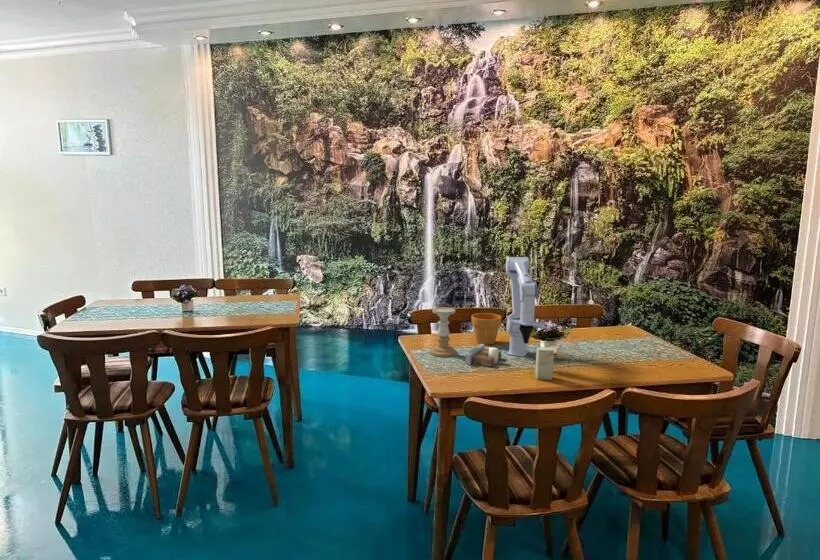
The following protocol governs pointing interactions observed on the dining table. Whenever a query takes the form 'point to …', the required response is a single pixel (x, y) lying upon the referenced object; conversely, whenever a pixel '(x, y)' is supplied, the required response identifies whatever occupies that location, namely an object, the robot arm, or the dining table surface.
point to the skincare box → (544, 363)
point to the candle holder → (443, 334)
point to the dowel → (494, 354)
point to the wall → (473, 353)
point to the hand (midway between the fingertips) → (526, 342)
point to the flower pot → (486, 327)
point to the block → (485, 358)
